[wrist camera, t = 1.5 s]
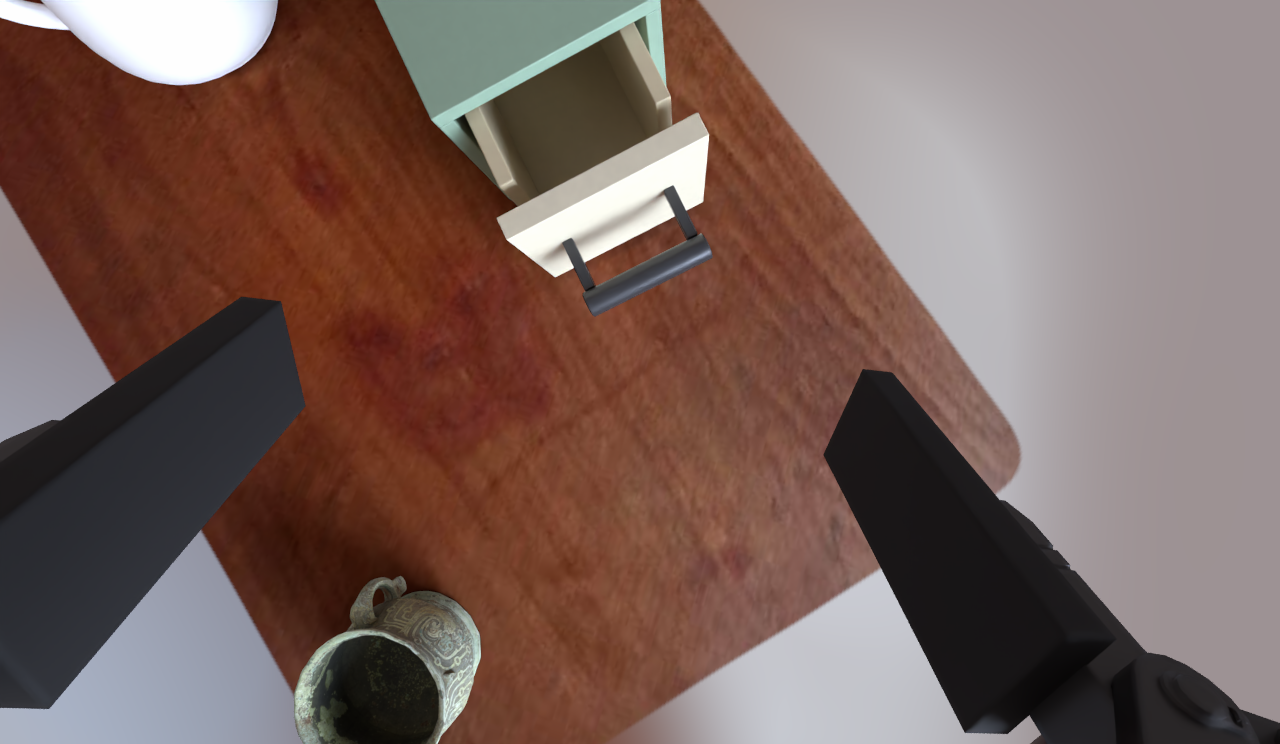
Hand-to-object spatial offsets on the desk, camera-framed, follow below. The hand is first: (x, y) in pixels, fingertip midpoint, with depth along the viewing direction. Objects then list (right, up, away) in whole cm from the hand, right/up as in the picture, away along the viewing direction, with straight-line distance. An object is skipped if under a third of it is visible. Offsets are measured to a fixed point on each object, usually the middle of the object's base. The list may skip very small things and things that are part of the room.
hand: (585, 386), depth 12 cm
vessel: (-13, -18, +22) cm, 31 cm away
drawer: (-1, +13, +20) cm, 24 cm away
